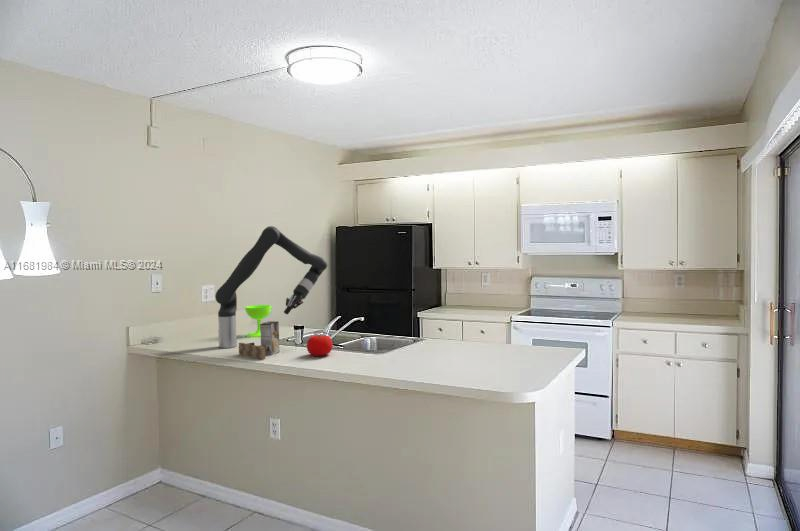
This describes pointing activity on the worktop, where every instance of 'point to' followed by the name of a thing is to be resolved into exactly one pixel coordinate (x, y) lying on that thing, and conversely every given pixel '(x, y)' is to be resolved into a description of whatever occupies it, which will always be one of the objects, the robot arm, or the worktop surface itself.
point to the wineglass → (257, 316)
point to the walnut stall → (252, 350)
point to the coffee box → (270, 337)
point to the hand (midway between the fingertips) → (285, 313)
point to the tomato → (319, 345)
